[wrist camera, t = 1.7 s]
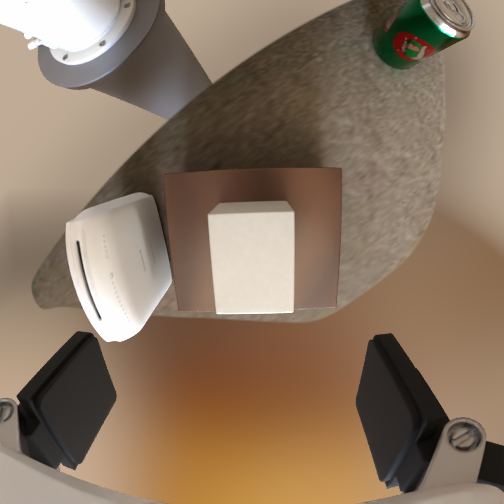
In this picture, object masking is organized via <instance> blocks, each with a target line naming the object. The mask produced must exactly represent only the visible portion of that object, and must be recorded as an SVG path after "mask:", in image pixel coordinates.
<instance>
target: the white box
mask: <svg viewBox="0 0 504 504" xmlns="http://www.w3.org/2000/svg"><path fill="white" fill-rule="evenodd" d="M208 226H209V240H210V252H211V264H212V276H213V287H214V297H215V308H216V314H255V313H288V312H293V311H294V259H295V224H294V211H293V209H292V208H291V206H290V205H289V204H288V202H287V201H257V202H230V203H219V204H218V205H217V206H216V207H215V208H214V209H213V210H212V211H211V212H210V213H209V214H208Z"/></svg>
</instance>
